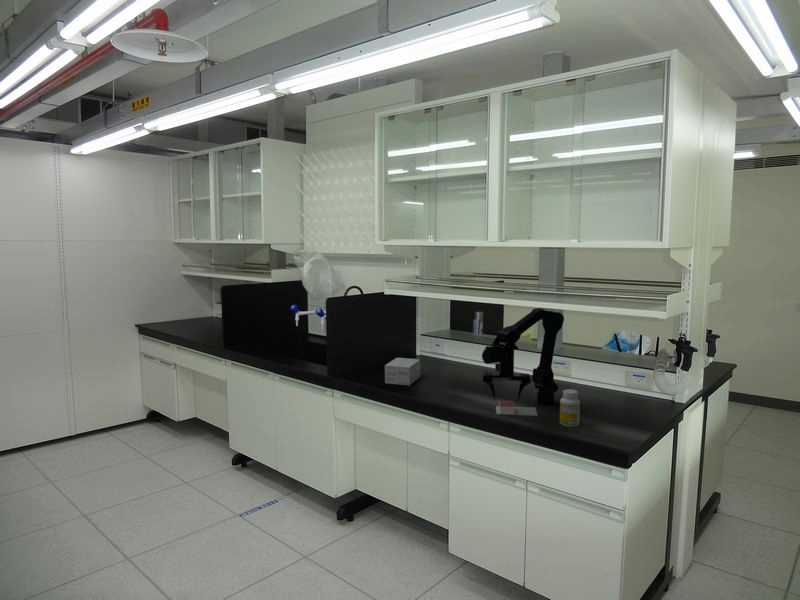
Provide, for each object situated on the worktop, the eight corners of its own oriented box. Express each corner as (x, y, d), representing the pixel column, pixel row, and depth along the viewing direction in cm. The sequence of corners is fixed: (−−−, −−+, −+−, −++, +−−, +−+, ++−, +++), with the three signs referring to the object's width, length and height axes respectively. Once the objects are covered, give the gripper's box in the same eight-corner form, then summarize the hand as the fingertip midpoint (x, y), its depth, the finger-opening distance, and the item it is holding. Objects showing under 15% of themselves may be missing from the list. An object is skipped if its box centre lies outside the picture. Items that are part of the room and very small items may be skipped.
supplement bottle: (565, 419, 205) (566, 387, 204) (583, 424, 200) (583, 391, 198) (556, 424, 200) (556, 391, 199) (573, 429, 195) (574, 395, 194)
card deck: (513, 414, 210) (514, 406, 210) (499, 414, 211) (499, 406, 210) (512, 408, 218) (512, 400, 217) (499, 407, 219) (499, 400, 218)
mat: (535, 408, 218) (535, 407, 218) (537, 416, 209) (537, 415, 209) (495, 407, 221) (495, 406, 221) (496, 415, 211) (496, 413, 211)
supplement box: (396, 375, 275) (396, 357, 274) (420, 377, 271) (420, 359, 270) (384, 383, 260) (384, 364, 259) (409, 385, 255) (409, 366, 254)
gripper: (528, 357, 218) (528, 393, 220) (483, 355, 221) (482, 392, 223) (531, 363, 207) (530, 402, 209) (483, 362, 210) (482, 400, 212)
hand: (506, 398), depth 214 cm, fingers open, 9 cm apart
